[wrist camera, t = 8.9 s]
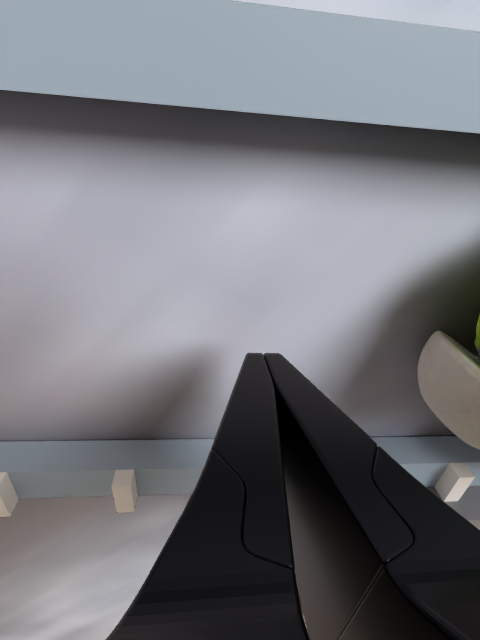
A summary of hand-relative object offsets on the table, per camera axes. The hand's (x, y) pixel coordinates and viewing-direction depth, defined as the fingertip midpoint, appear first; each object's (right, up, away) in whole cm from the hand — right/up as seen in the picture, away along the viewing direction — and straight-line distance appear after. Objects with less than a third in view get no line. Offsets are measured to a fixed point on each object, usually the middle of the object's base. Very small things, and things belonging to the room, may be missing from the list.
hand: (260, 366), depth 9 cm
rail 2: (0, -4, +5) cm, 6 cm away
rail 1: (+1, +6, -1) cm, 7 cm away
